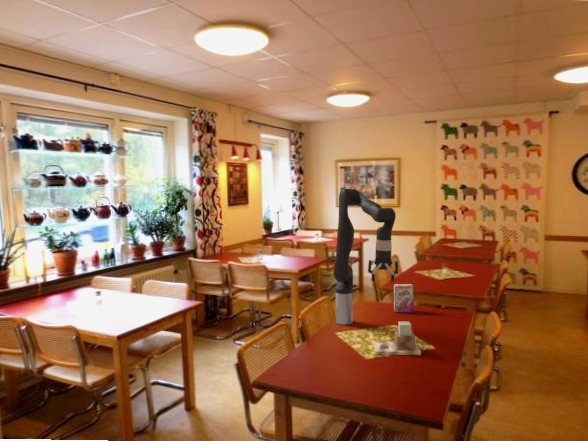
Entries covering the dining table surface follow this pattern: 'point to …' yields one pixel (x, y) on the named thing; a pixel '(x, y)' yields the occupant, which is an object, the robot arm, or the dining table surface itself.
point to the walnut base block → (404, 341)
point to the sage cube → (404, 328)
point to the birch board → (393, 349)
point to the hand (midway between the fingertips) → (382, 281)
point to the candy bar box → (404, 298)
